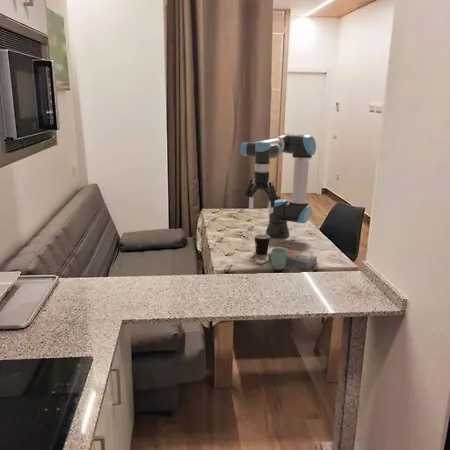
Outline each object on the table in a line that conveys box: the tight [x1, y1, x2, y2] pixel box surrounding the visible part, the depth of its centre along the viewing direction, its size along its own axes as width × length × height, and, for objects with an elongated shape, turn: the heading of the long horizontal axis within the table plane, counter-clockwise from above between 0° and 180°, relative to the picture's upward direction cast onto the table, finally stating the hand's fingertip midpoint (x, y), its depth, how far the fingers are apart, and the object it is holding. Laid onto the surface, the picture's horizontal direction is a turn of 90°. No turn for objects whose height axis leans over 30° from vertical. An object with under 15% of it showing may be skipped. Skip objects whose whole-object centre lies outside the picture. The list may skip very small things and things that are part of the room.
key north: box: [298, 251, 314, 261], centre depth 237 cm, size 6×6×4 cm
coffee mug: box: [254, 234, 271, 256], centre depth 256 cm, size 12×9×10 cm
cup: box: [270, 247, 288, 271], centre depth 231 cm, size 8×8×10 cm
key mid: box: [287, 249, 301, 258], centre depth 241 cm, size 6×6×4 cm
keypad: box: [267, 249, 318, 271], centre depth 242 cm, size 12×23×4 cm, turn 55°
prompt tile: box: [253, 258, 268, 266], centre depth 241 cm, size 6×5×1 cm
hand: (260, 211), depth 240 cm, fingers open, 13 cm apart
